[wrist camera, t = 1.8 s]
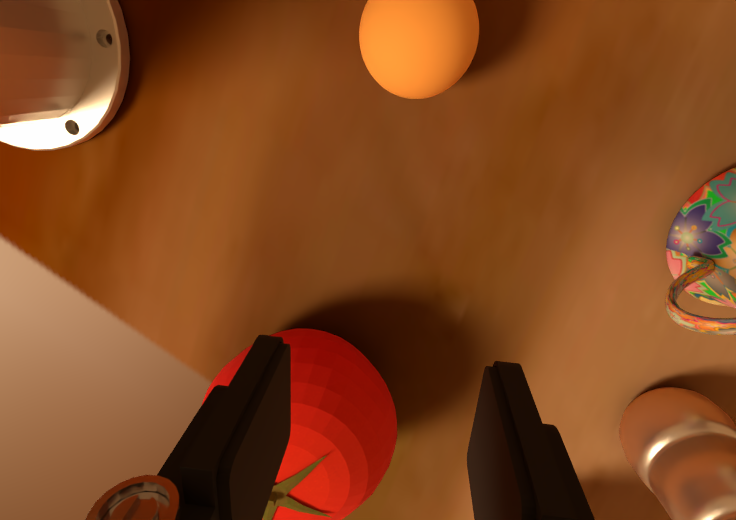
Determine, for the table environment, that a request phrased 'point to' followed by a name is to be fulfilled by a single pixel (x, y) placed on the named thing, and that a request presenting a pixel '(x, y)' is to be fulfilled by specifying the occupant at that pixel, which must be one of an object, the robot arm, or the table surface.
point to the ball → (418, 44)
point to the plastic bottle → (683, 452)
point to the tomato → (328, 428)
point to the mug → (705, 254)
